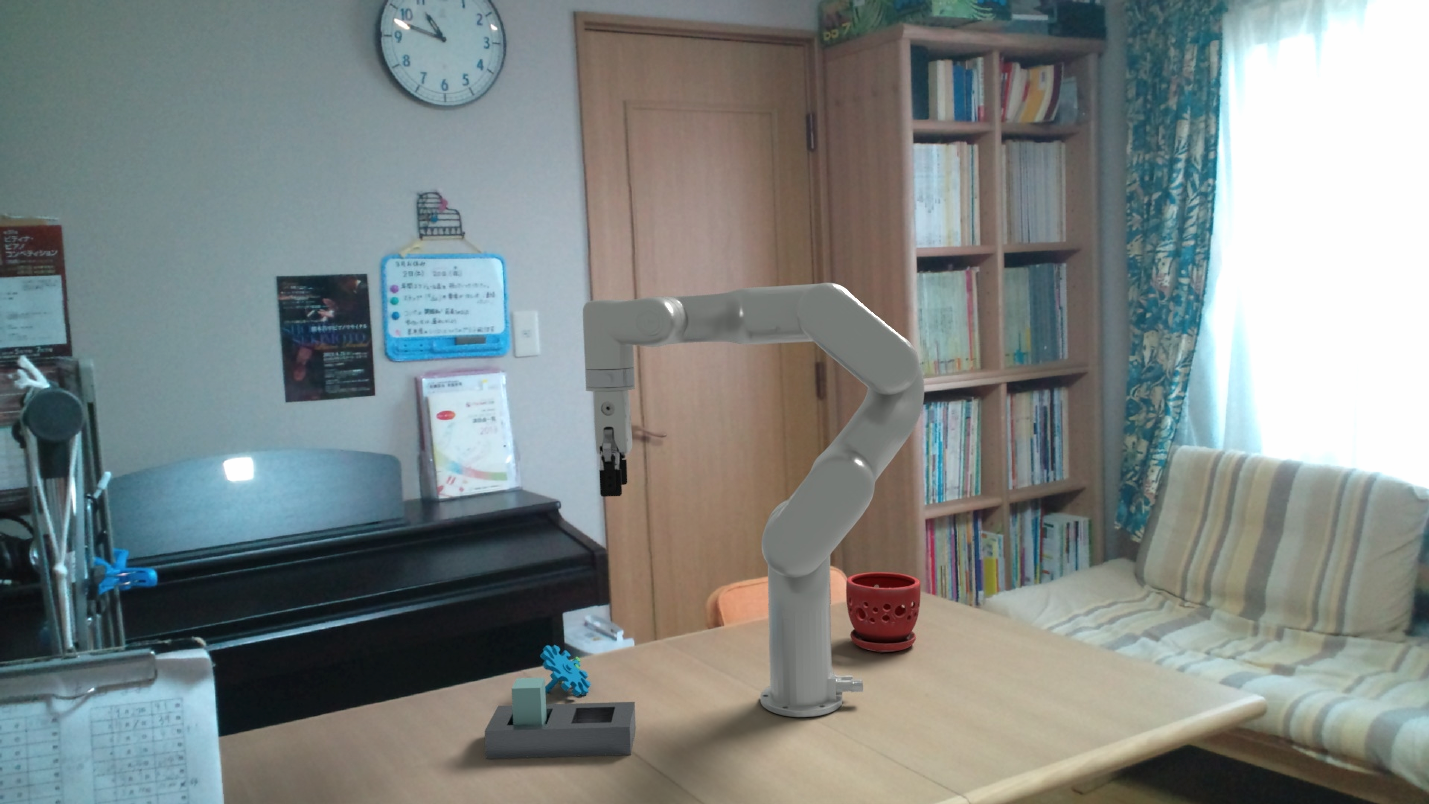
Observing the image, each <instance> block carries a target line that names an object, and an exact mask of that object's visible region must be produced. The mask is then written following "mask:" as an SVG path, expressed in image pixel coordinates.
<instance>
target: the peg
mask: <svg viewBox="0 0 1429 804" xmlns="http://www.w3.org/2000/svg"><path fill="white" fill-rule="evenodd" d="M545 686H546V677H543V676H542V677H517V678H516V679H515V681H514V683H513V685H512V687H511V701H512V704H511V705H512V707H513V725H540V724H547V717H546V704H547V701H546V699H547V698H546V693H545Z"/></svg>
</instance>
